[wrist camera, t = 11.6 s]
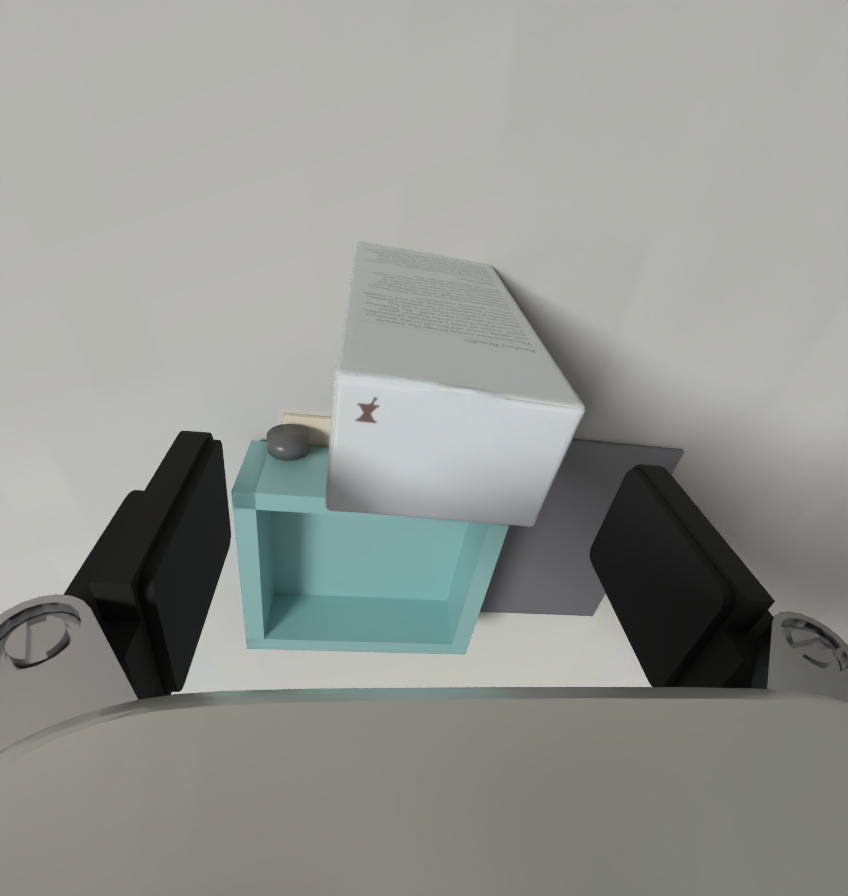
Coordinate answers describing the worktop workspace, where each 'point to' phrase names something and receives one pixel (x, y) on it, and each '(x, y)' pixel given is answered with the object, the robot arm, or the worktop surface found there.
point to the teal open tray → (349, 562)
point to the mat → (552, 527)
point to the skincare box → (443, 395)
